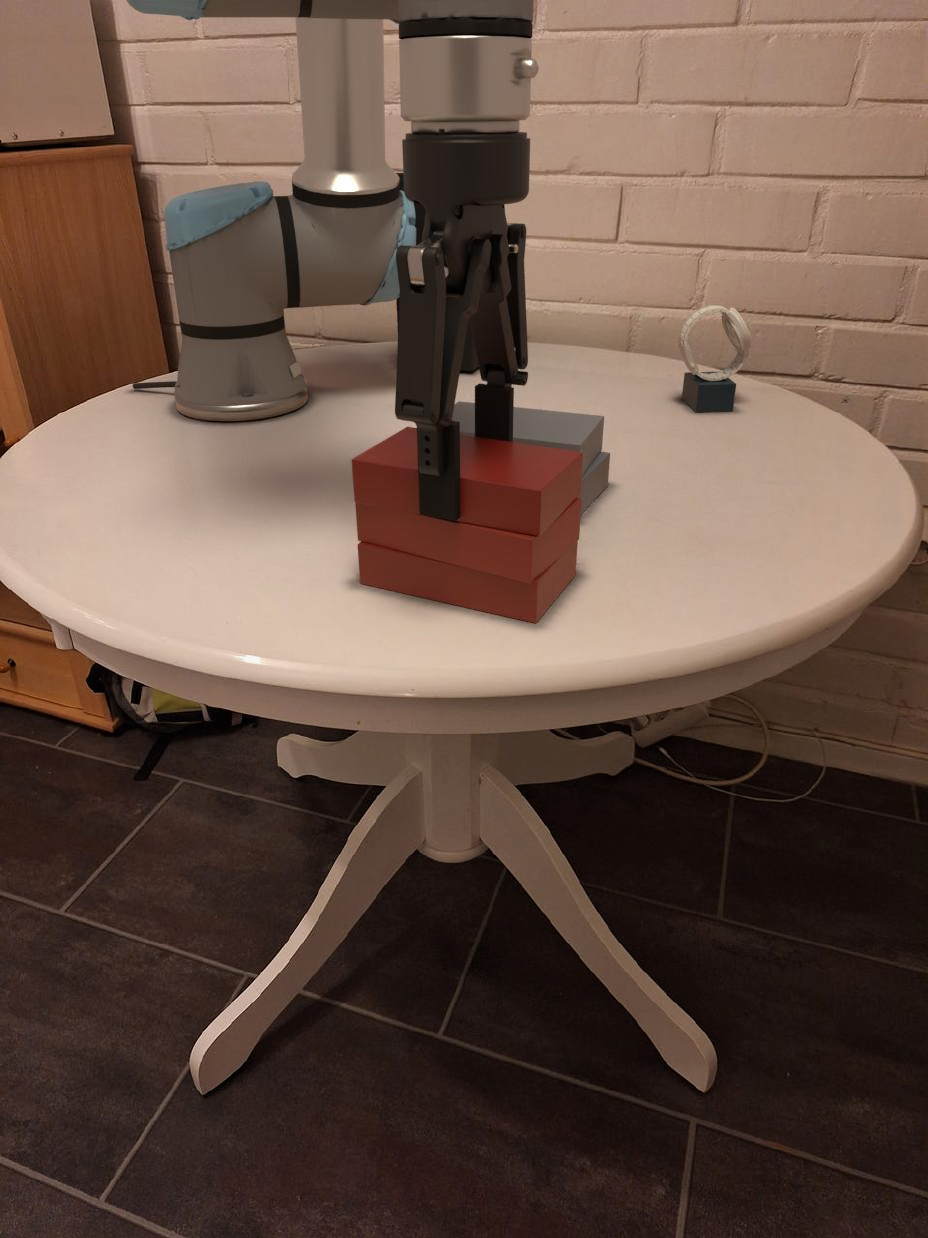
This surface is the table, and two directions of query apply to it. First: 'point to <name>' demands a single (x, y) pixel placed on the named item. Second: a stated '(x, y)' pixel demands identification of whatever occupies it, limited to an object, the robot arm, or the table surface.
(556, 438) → the grey book top
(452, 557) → the red stack top
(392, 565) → the red stack low
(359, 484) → the red book
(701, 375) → the ring sculpture
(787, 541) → the table surface
